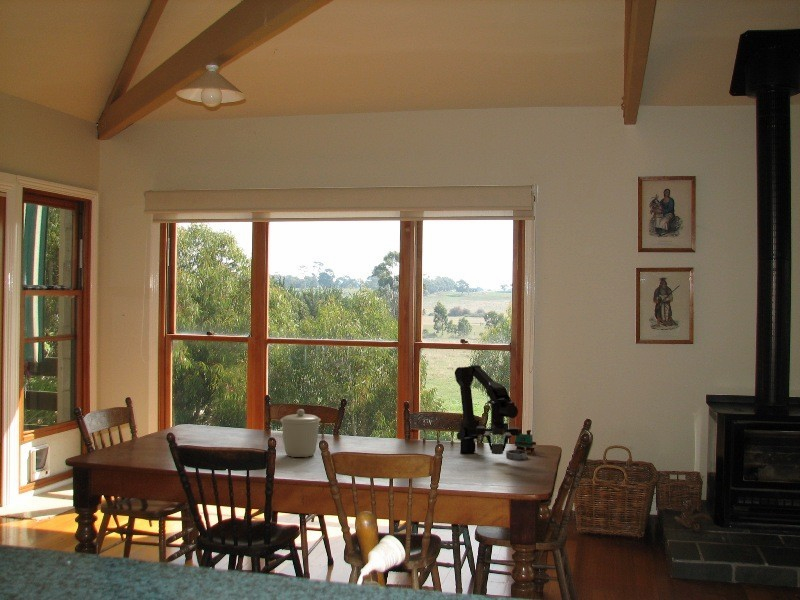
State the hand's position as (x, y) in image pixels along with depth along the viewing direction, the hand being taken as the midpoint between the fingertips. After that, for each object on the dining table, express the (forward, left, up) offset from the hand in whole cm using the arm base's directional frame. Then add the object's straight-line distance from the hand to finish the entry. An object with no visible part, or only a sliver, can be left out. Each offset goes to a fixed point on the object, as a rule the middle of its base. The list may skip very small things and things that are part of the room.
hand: (497, 450), depth 329 cm
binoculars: (+14, +24, -5) cm, 28 cm away
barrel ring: (+9, +9, -5) cm, 14 cm away
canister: (-88, +2, -5) cm, 88 cm away
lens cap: (0, 0, -1) cm, 1 cm away
